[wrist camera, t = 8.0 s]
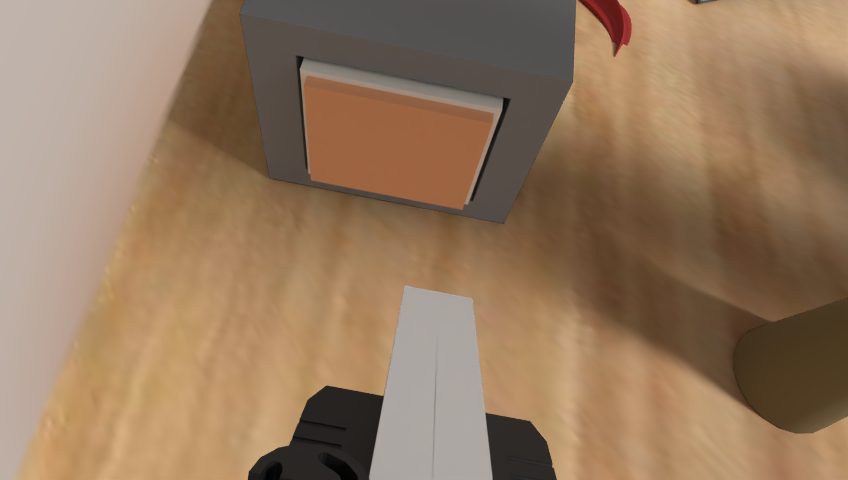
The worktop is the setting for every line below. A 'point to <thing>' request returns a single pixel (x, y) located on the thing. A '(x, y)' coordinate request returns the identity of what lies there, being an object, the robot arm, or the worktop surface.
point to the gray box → (418, 73)
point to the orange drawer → (395, 133)
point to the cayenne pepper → (612, 19)
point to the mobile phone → (703, 1)
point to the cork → (797, 369)
